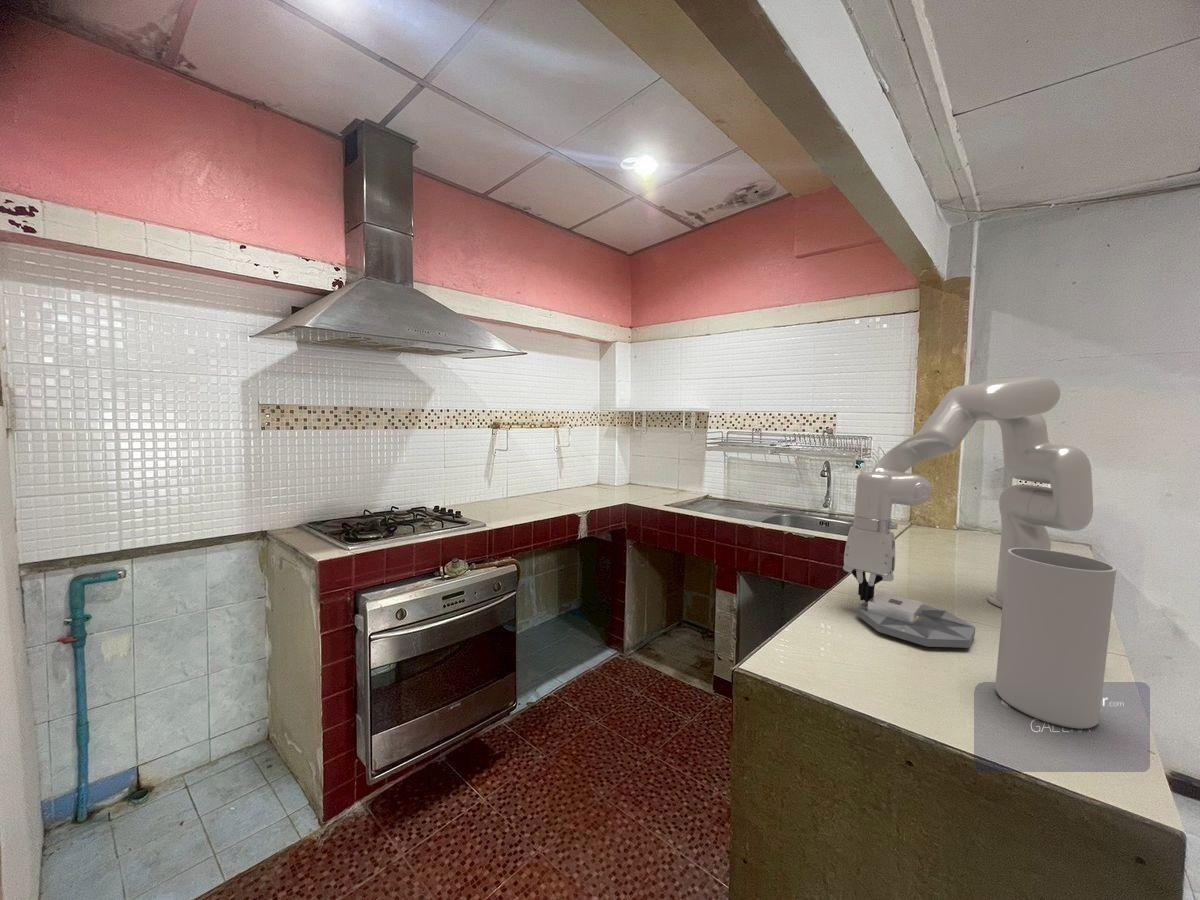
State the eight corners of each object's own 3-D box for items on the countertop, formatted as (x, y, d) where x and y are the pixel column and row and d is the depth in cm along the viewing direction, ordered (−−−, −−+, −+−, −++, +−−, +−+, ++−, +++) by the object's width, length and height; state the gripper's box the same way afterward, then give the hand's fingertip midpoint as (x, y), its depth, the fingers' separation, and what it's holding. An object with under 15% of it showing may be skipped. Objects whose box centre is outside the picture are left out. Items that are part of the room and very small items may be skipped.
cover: (922, 613, 108) (922, 602, 108) (913, 624, 102) (914, 612, 102) (878, 601, 114) (879, 591, 114) (867, 611, 108) (868, 600, 108)
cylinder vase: (977, 681, 84) (989, 546, 83) (1052, 687, 83) (1066, 550, 81) (1033, 727, 72) (1049, 568, 70) (1123, 735, 71) (1142, 574, 69)
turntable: (978, 626, 106) (979, 619, 106) (964, 658, 91) (965, 650, 91) (874, 598, 121) (875, 592, 120) (847, 622, 106) (848, 615, 106)
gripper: (912, 528, 108) (905, 605, 110) (843, 516, 119) (838, 587, 120) (904, 533, 103) (897, 613, 104) (832, 520, 114) (827, 594, 115)
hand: (865, 599), depth 112 cm, fingers closed
